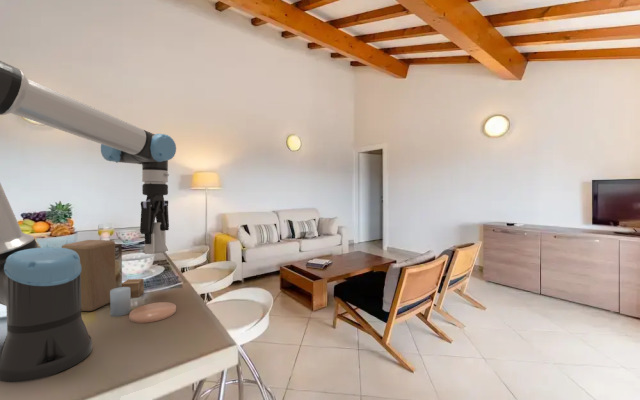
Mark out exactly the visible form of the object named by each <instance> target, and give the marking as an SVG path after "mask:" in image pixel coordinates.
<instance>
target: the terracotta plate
mask: <svg viewBox="0 0 640 400" xmlns="http://www.w3.org/2000/svg"><path fill="white" fill-rule="evenodd" d="M176 312H177V304H175V303H173V302H169V301H168V302H166V301H162V302H160V301H159V302H153V303H152V302H151V303H147V304H144V305H140V306H137V307H135V308H133V309H132V310H131V312H130V313H128V314H129V317H128V318H129V320H130V322H132V323H137V324H145V323H147V324H149V323H153V322H158V321H162V320H165V319H168V318H170V317H172V316H174V315H175V313H176Z"/></svg>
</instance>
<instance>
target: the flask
mask: <svg viewBox="0 0 640 400" xmlns="http://www.w3.org/2000/svg"><path fill="white" fill-rule="evenodd" d="M160 224H161V223H160V222H157V221H155V223H154V228H153V233H152V234H154V254H161V253H163V254H164V253H166V252H167V251H169V250H168V247H167V245H166V244H167V243H166V244H165V242H164V240H163V237H162V235H161V230H160ZM142 253H143V254H145V246H144V247H143V250H142ZM154 254H153V255H154Z"/></svg>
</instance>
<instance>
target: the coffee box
mask: <svg viewBox="0 0 640 400" xmlns="http://www.w3.org/2000/svg"><path fill="white" fill-rule="evenodd" d="M122 246H123V244H122V243H115V275H116V288H119V287H122V283H123V253H122V252H123V247H122Z"/></svg>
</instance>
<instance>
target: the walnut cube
mask: <svg viewBox="0 0 640 400" xmlns="http://www.w3.org/2000/svg"><path fill="white" fill-rule="evenodd" d="M144 282H145V281H144V278H135V279H134V278H133V279H127V280H125V281H124V282H122V286H121V287H130V293H131V298H132V299H133V298H139V297H141V296H142V295H143V294H144V292H145V288H144V285H145V283H144Z"/></svg>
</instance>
